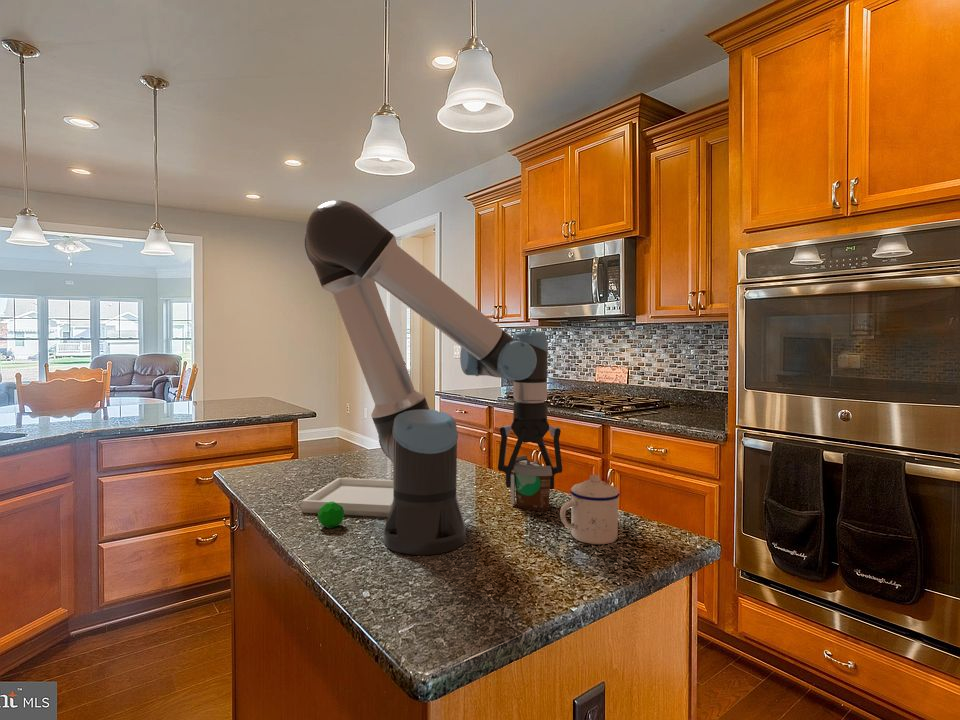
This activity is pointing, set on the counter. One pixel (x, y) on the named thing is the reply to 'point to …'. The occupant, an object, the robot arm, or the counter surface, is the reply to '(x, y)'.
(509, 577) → the counter surface
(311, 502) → the tray
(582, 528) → the teacup with lid
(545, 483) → the food container
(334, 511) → the polyhedron
